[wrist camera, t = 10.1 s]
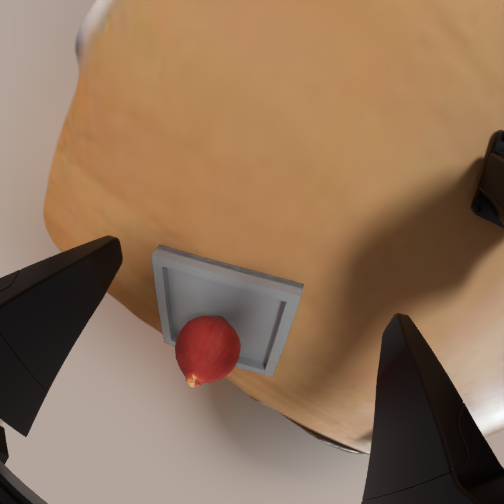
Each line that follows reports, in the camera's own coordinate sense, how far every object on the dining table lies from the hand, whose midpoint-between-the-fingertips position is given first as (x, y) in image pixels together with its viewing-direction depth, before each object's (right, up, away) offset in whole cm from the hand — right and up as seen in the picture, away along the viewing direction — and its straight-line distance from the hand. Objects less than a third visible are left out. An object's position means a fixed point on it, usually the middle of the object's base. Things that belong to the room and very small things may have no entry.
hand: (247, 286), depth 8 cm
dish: (-3, -5, +20) cm, 20 cm away
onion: (-3, -5, +19) cm, 20 cm away
